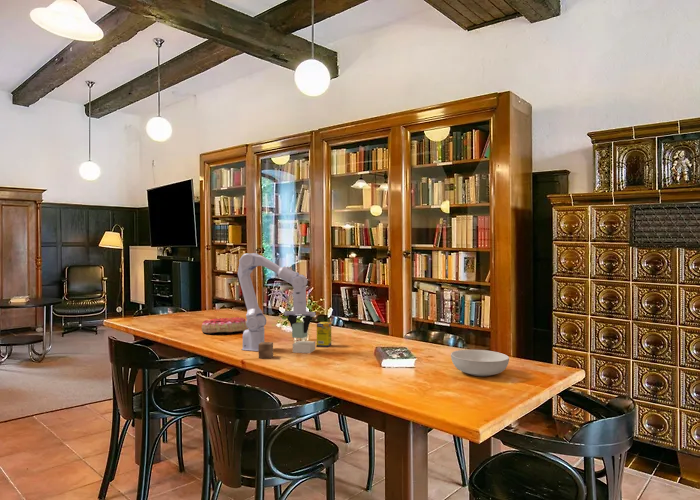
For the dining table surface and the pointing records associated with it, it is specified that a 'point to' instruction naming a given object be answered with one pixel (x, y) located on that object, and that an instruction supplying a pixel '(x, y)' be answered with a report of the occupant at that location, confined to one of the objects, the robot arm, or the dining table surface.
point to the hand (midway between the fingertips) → (299, 332)
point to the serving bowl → (479, 362)
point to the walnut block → (265, 350)
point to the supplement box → (323, 334)
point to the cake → (224, 325)
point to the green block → (298, 330)
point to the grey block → (303, 347)
